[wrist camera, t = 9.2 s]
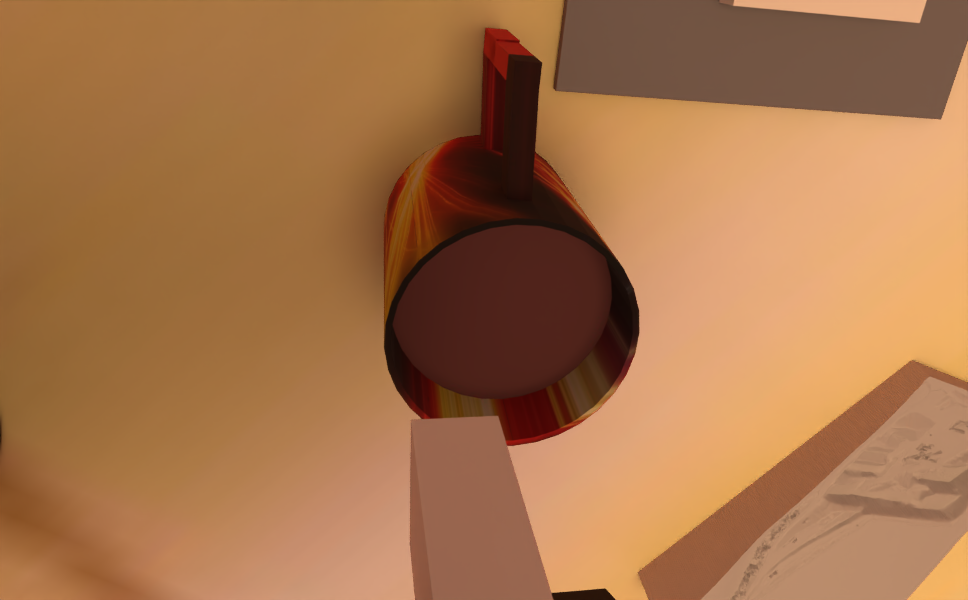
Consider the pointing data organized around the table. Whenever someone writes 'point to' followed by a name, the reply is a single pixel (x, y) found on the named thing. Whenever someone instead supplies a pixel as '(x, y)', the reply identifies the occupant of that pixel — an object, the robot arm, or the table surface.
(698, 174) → the table surface
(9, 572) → the table surface
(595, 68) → the mat
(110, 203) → the table surface
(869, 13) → the tile
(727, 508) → the flat printed box
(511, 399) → the mug
